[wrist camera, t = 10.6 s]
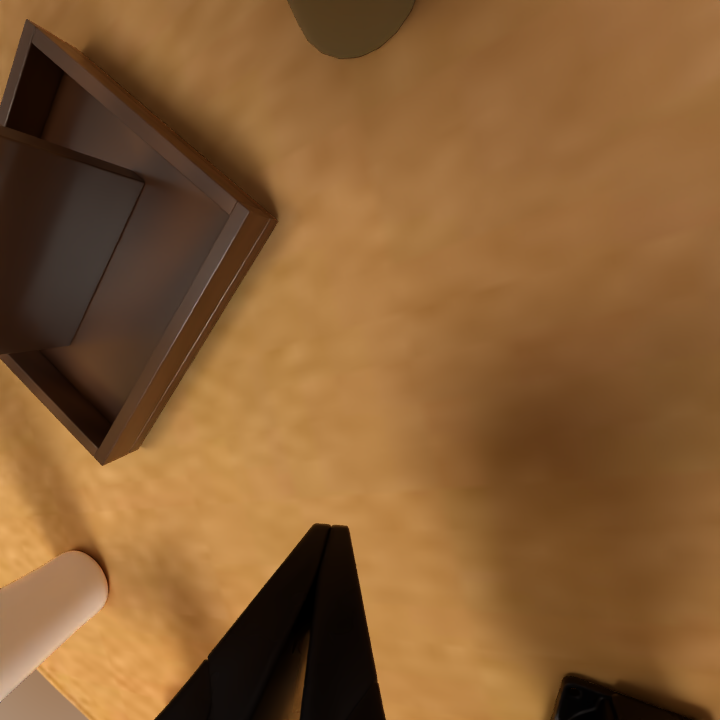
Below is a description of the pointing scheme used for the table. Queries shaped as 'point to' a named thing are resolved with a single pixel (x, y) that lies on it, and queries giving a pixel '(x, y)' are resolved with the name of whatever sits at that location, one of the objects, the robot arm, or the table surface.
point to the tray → (108, 246)
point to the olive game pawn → (349, 23)
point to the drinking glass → (46, 613)
